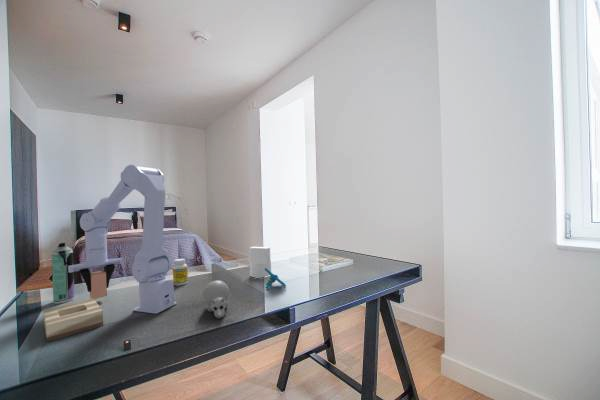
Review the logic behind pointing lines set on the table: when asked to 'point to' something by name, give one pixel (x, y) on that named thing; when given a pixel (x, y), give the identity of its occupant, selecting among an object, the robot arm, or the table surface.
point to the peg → (98, 284)
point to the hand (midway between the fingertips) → (98, 289)
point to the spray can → (62, 274)
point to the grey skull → (216, 297)
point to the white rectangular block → (259, 261)
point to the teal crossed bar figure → (272, 279)
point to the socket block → (72, 319)
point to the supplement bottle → (180, 272)
